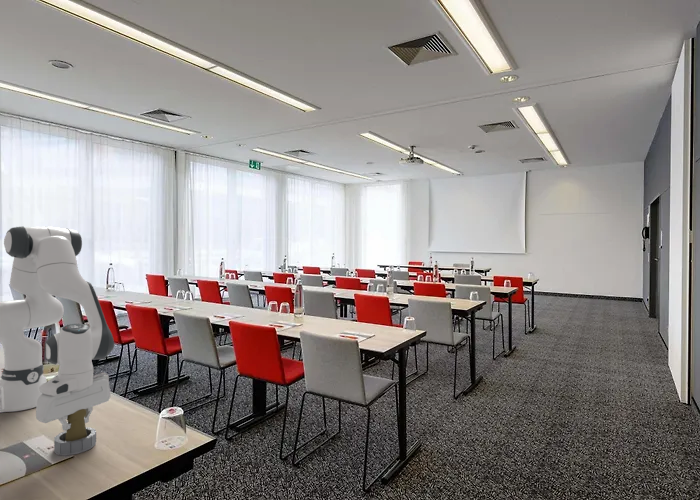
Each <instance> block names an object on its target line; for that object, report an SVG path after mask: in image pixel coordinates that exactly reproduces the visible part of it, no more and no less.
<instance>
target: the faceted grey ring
mask: <svg viewBox="0 0 700 500" xmlns="http://www.w3.org/2000/svg"><path fill="white" fill-rule="evenodd" d="M85 427H86V433H87V437H85V438H82V439H79V440H74V441H65V438H66V431H67V430H66V431H64V430H63V431H62V432H60V433H58V434H57V435H55V436H54V439H53V441H54V443H53V444H54V445H53V446H54V448H53V450H54V451H53V453H55V454H56V455H58V456H62V457H63V456H65V457H66V456H73V455H78V454H82V453H85V452H87V451H89V450H91V449H93V448H94V447H95V446H96V444H97V431H96V428H94V427H90V426H89V427H87V426H85Z"/></svg>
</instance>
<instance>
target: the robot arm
mask: <svg viewBox="0 0 700 500" xmlns="http://www.w3.org/2000/svg"><path fill="white" fill-rule="evenodd" d="M3 247H4V249H5V252H6V254H8V256H10V257H12V258H13V261H12V268H11V273H10V280H9V285H10V287H11V289H13V291H15V292H17V293H19V294H22V295H25V298H23V299H16V300H14V299H13V300H4V301H0V344H1V346H2V351H3V359H4V361H3V362H4V368H1V369H0V370H2V371H1V377H0V413H1V414H2V413H6V412H7V413H8V412H9V413H10V412H20V411H26V410H30V409H33V408H35V419H36V420H37V421H38V422H41V423H44V424H47V423H50V422H53V421H55V420H58V421H59V422H60V424H61V430H62V431H63V432H64V431H67V430H69V429H70V428H71V423H68V420H67V416H68V415H70V414H73V413H75V412H76V411H78V410H81V409H86V416H85V418H84V420H85V424H87V423H89V422H90V415H91V414H92V412H93V409H94V408H93V407H96V406H98V405H101V404H104V403H107V402H109V400H110V398H111V387H110V376H109V374H108V373H107V372H104V371H103V372H99V373H95V374H94V365H93V362H92V360H93V361H96V360H104V359H105V358H107V357H108V356H109V354H111V353H112V351H113V350H114V348H115V340H114V337H113V333H112V331H111V329H110V328H109V325H108V324H107V321H106V318H105V314H104V311H103V309H102V306H101V304H100V301H99V299H98V295H97V294H96V291H95V289H94V286H93V285H92V283H91V282H90V281H89V282H88V281H87V280H86V279H84V277H83V276H82V275H81V273H80V271H79V269H78V268H79V267H78V260H77V256H78V255H79V254H81V251H82V247H83V239H82V235H81V234H80V233H79V232H78V231H77V230H76V229H71V228H62V227H61V228H60V227H53V226H15V227H11V228H9V230H7V232H6V234H5V235H4V239H3ZM56 297H57V298H56ZM58 298H62V299H65V300H69V301H73V302H76V303H78V304H79V305H80V306H81V307H82V308H83V310H84V314H85V316H86V319H87V322H88V324H85V323H84V324H83V323H70V324H67V325H64V326H62V327H61V328H60V331H59V332H57V333H54V334H52V335H51V336H49V337H48V339H47V340H46V341H45V342H44V359H45V360H46V361H47V362H49V363H50V364H53V365H59V368H58V370H57V375H56V376H54V377H52V378H51V379H49V380H48V381H47V376H45V375H43V374H44V370H45V369H44V364H43V357H42V356H43V346H42V344H41V342H40V341H38V340H37V339H34V338H32V337H28V336H25V332H24V331H25V330H29V329H35V328H43V327H47V326H50V325H54V324H57V323H59V322H60V321H61V320H62V318H63V316H64V313H65V312H64V311H65V309H64V305H63V303H62V302H61V301H60V300H59V299H58Z"/></svg>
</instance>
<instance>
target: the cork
mask: <svg viewBox="0 0 700 500" xmlns="http://www.w3.org/2000/svg"><path fill="white" fill-rule="evenodd" d="M85 416H86V409H81V410H78V411H76V412H75V413H73V414H70V415H68V416H67V419H66V421H67V422H68V423H71V428H70V429H69V430H66V438H65V441H74V440H79V439H82V438H85V437H87V433H86V427H87V426H86V423H85V420H84V418H85Z"/></svg>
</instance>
